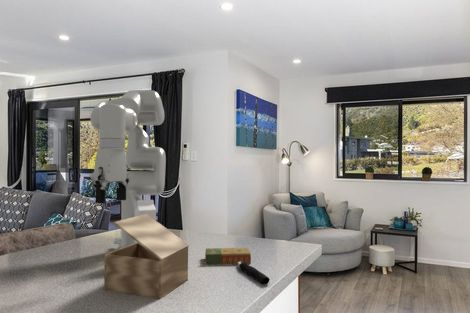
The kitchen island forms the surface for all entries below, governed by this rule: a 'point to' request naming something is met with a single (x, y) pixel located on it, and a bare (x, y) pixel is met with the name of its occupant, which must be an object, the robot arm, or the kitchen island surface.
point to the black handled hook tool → (253, 273)
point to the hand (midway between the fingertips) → (111, 201)
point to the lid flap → (152, 236)
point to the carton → (227, 256)
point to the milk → (145, 208)
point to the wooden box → (144, 271)
